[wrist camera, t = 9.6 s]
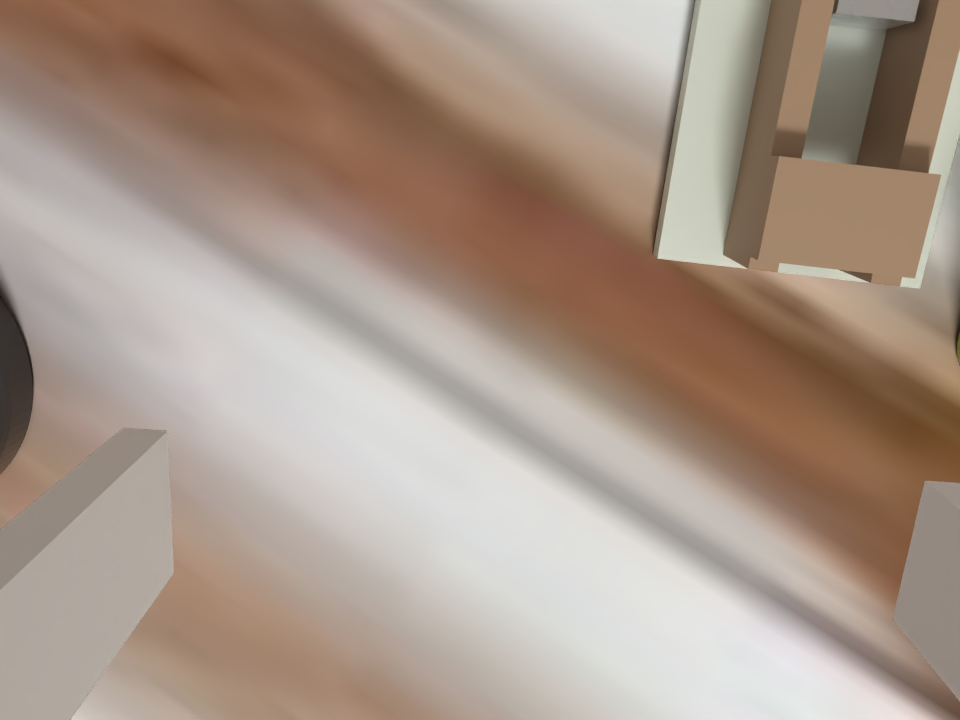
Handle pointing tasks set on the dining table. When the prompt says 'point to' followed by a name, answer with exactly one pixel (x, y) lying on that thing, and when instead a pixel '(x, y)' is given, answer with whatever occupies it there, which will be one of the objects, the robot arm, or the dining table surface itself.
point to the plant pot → (958, 349)
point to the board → (812, 141)
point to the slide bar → (873, 13)
